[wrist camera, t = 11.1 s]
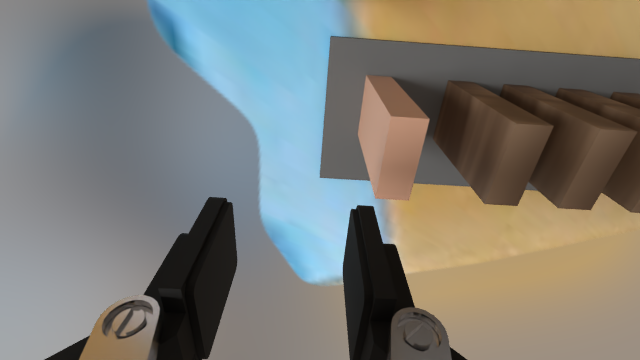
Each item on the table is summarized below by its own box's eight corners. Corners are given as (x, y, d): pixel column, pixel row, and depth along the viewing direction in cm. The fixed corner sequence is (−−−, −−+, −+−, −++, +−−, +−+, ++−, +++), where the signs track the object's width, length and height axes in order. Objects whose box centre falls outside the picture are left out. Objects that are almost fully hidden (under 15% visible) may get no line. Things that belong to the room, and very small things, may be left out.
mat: (330, 36, 24) (330, 36, 23) (663, 60, 25) (668, 61, 24) (320, 175, 30) (319, 177, 29) (588, 191, 31) (591, 193, 30)
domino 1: (391, 77, 25) (429, 119, 16) (380, 136, 27) (408, 200, 19) (366, 75, 25) (390, 116, 16) (357, 134, 27) (375, 198, 19)
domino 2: (432, 138, 27) (484, 203, 19) (448, 80, 25) (515, 123, 16) (455, 140, 28) (517, 205, 19) (472, 81, 25) (553, 126, 16)
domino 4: (533, 145, 28) (630, 212, 19) (558, 87, 25) (683, 134, 17) (555, 146, 28) (662, 214, 19) (583, 89, 25) (719, 137, 17)
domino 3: (483, 142, 28) (558, 208, 19) (503, 84, 25) (600, 129, 16) (505, 143, 28) (590, 209, 19) (528, 85, 25) (637, 131, 17)
